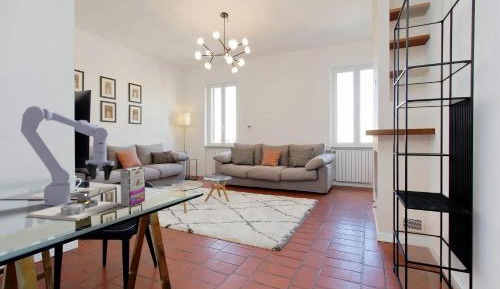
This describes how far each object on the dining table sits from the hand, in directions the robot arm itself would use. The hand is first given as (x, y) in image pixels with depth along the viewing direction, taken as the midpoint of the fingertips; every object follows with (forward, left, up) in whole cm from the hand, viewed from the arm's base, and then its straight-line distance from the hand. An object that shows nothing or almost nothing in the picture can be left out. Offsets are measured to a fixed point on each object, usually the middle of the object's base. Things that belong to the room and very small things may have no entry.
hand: (100, 179), depth 124 cm
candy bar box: (+21, -4, -10) cm, 23 cm away
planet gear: (+5, -16, -8) cm, 18 cm away
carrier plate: (+6, -19, -9) cm, 22 cm away
